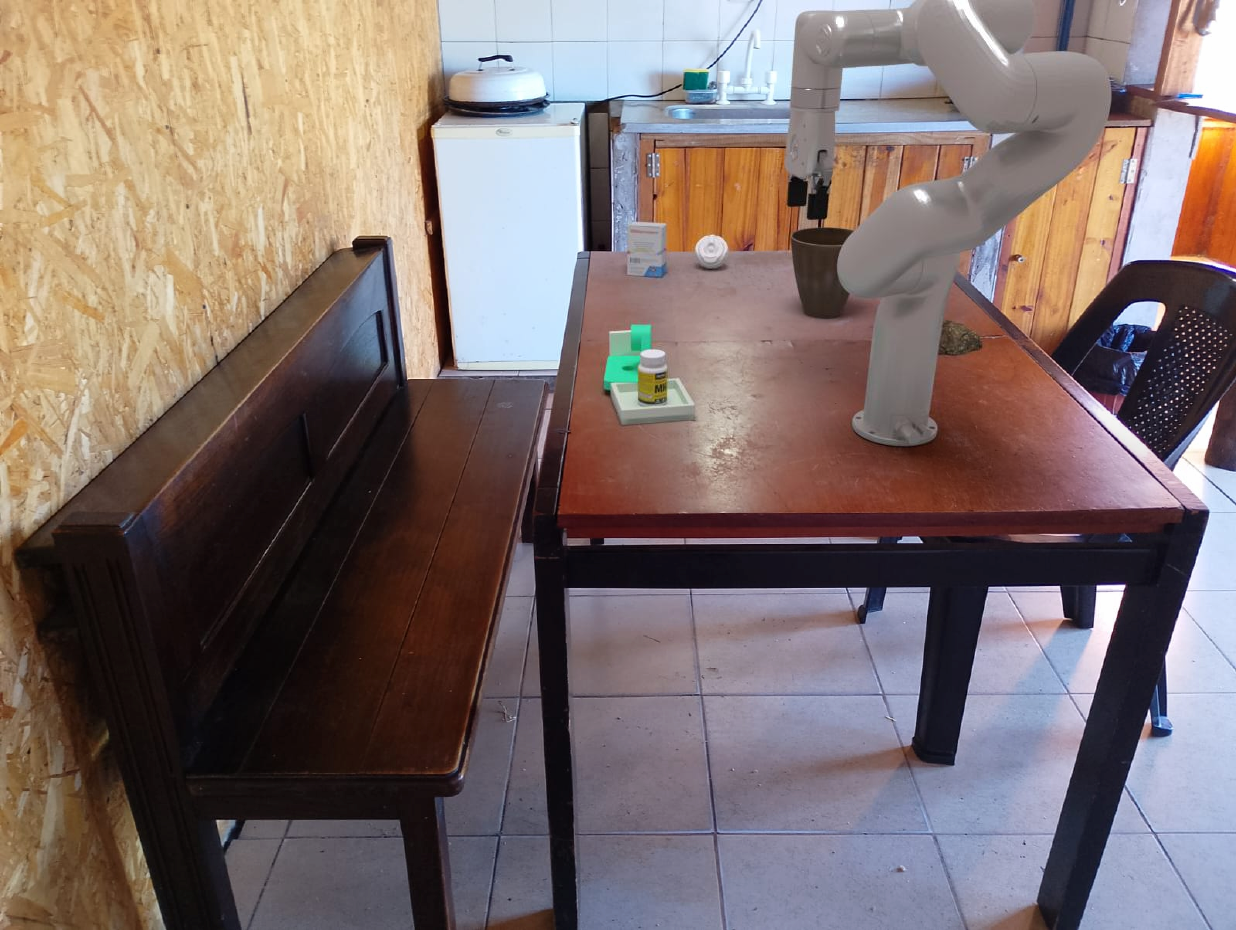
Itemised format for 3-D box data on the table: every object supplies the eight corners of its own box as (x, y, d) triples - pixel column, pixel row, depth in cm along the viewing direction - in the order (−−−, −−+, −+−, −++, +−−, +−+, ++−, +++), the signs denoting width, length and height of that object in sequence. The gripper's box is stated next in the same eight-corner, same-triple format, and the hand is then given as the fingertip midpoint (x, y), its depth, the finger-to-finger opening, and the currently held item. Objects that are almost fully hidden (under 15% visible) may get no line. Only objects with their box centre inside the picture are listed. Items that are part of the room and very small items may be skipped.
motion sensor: (692, 271, 229) (693, 239, 225) (695, 263, 235) (696, 231, 232) (726, 273, 228) (728, 240, 224) (728, 264, 234) (730, 232, 231)
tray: (694, 419, 153) (694, 405, 151) (621, 425, 151) (621, 410, 150) (678, 392, 163) (679, 378, 162) (610, 396, 161) (610, 382, 160)
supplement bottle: (657, 410, 153) (657, 360, 150) (632, 404, 156) (631, 355, 152) (672, 400, 157) (673, 351, 153) (648, 394, 159) (648, 346, 155)
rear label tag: (643, 368, 173) (643, 331, 169) (610, 371, 172) (610, 333, 169) (642, 366, 174) (642, 329, 170) (609, 368, 173) (609, 331, 170)
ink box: (667, 272, 229) (667, 222, 223) (661, 278, 224) (662, 226, 219) (632, 269, 231) (632, 219, 226) (626, 275, 227) (626, 224, 221)
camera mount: (608, 369, 172) (607, 313, 167) (651, 369, 172) (651, 314, 167) (603, 396, 161) (602, 337, 157) (649, 396, 161) (649, 338, 156)
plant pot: (839, 329, 191) (846, 249, 183) (772, 315, 199) (777, 238, 191) (870, 310, 201) (879, 233, 194) (806, 298, 209) (812, 223, 202)
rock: (935, 330, 190) (939, 305, 188) (990, 347, 181) (994, 322, 179) (892, 344, 184) (895, 318, 182) (947, 362, 175) (950, 336, 173)
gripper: (774, 94, 155) (767, 202, 163) (810, 107, 140) (801, 225, 148) (819, 93, 156) (810, 200, 164) (859, 105, 141) (848, 223, 149)
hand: (806, 212), depth 156 cm, fingers open, 9 cm apart
